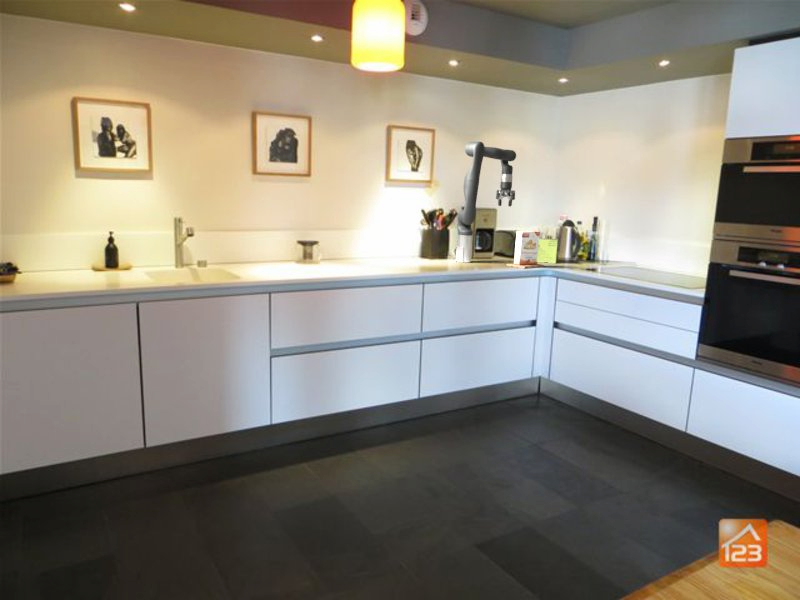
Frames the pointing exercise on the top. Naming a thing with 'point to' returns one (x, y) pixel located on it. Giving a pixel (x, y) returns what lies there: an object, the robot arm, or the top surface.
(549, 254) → the protein box
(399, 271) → the top surface
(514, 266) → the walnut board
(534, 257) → the cracker box
